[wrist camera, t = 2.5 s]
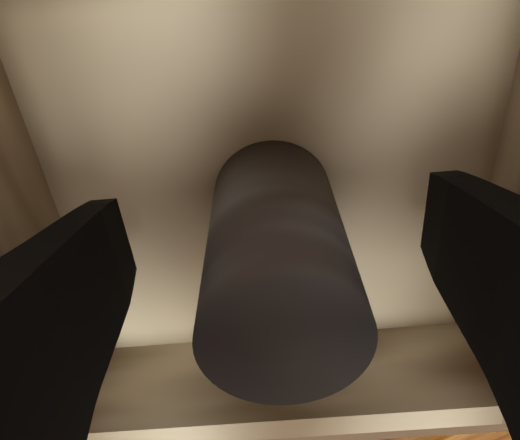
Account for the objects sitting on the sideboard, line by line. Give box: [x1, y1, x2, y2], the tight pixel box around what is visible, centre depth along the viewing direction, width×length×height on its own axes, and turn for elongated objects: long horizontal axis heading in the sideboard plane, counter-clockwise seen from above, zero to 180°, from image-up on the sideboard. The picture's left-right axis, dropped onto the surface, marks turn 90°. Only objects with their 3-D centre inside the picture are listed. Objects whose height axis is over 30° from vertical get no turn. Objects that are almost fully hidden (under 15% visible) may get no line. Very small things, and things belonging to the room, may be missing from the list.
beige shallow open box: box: [0, 0, 520, 440], centre depth 10 cm, size 13×12×6 cm
